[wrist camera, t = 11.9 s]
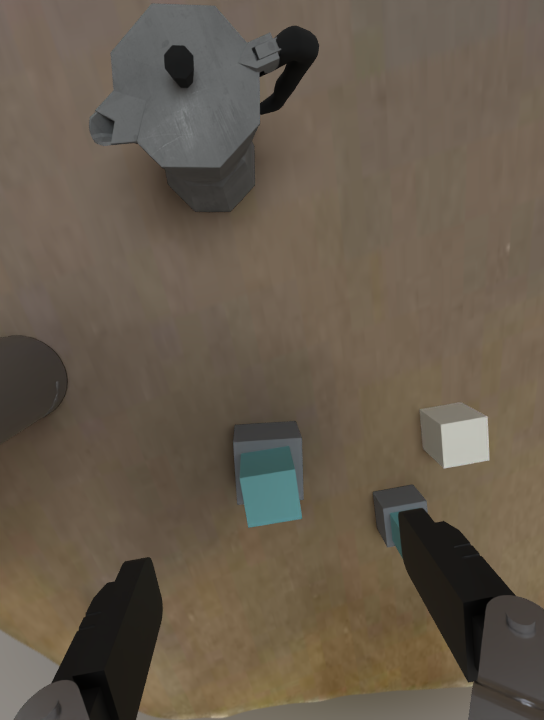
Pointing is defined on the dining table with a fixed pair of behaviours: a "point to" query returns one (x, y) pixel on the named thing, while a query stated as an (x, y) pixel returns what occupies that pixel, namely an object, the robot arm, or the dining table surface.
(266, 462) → the teal block
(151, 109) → the coffeepot
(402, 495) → the stack
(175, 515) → the dining table surface
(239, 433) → the charcoal block
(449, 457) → the cream block
